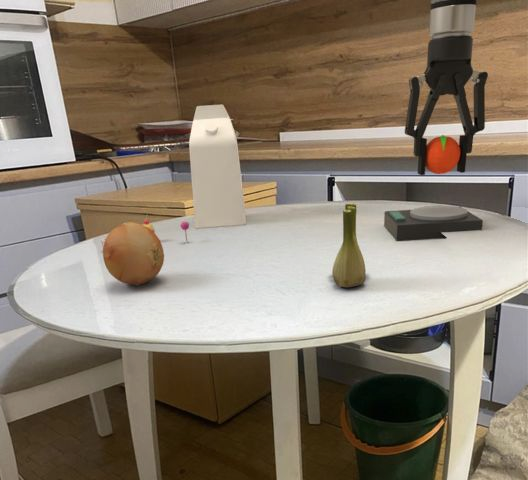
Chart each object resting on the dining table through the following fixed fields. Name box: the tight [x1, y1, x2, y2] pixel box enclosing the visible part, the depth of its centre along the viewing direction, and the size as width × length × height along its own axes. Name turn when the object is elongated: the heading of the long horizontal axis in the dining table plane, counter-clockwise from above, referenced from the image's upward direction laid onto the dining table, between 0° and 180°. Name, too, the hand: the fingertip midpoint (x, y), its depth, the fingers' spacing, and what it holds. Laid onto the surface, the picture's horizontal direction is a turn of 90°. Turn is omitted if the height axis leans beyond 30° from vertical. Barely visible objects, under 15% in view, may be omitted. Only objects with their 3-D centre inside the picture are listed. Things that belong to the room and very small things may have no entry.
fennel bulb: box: [331, 203, 367, 288], centre depth 78 cm, size 6×5×12 cm
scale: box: [383, 205, 484, 242], centre depth 108 cm, size 16×14×4 cm
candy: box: [100, 213, 190, 248], centre depth 112 cm, size 18×8×6 cm, turn 109°
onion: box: [102, 221, 165, 286], centre depth 87 cm, size 10×10×10 cm
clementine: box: [425, 134, 460, 175], centre depth 102 cm, size 8×7×7 cm
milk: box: [188, 104, 247, 229], centre depth 125 cm, size 12×12×26 cm
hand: (440, 172), depth 104 cm, fingers closed on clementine, 7 cm apart
